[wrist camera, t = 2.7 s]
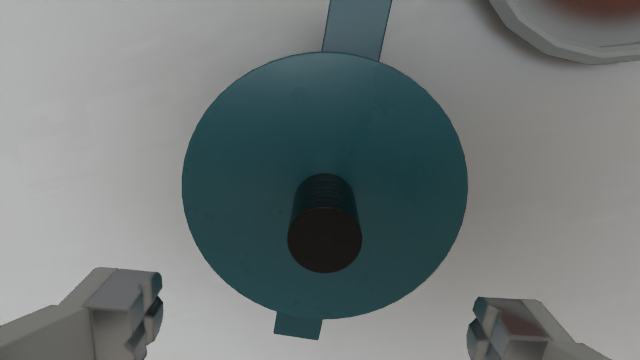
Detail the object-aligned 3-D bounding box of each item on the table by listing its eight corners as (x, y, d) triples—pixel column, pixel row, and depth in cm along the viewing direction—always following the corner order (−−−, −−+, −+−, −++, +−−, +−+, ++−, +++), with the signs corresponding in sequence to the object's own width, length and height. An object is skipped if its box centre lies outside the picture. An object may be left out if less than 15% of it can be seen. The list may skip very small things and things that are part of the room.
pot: (446, 26, 23) (511, 18, 15) (381, 273, 29) (403, 363, 21) (251, -11, 23) (212, -40, 15) (223, 247, 28) (183, 330, 20)
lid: (495, 80, 16) (560, 95, 12) (419, 320, 20) (447, 399, 16) (200, 25, 16) (152, 18, 11) (181, 283, 20) (140, 355, 15)
